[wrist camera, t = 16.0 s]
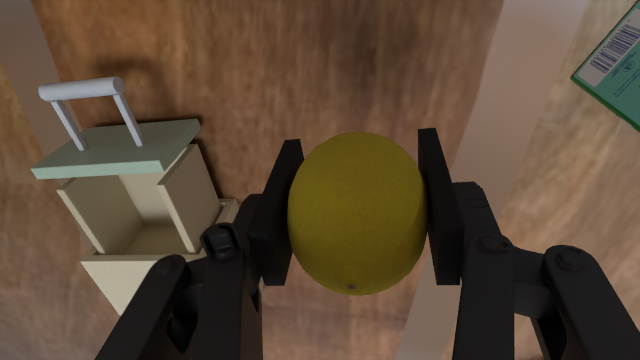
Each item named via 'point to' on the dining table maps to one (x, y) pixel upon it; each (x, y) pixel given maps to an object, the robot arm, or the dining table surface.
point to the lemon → (358, 214)
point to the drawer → (131, 177)
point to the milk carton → (616, 70)
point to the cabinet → (137, 265)
